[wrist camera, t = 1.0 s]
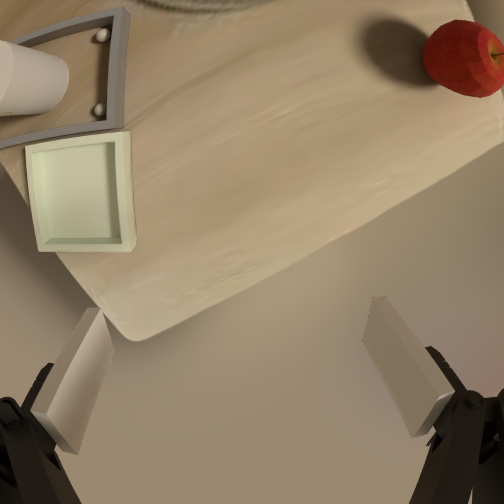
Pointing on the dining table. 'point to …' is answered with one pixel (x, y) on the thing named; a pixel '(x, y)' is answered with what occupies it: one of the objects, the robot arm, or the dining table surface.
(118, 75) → the gravel bin
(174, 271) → the dining table surface
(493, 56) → the apple
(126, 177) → the sage tray
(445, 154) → the dining table surface
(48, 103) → the cup
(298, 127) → the dining table surface
